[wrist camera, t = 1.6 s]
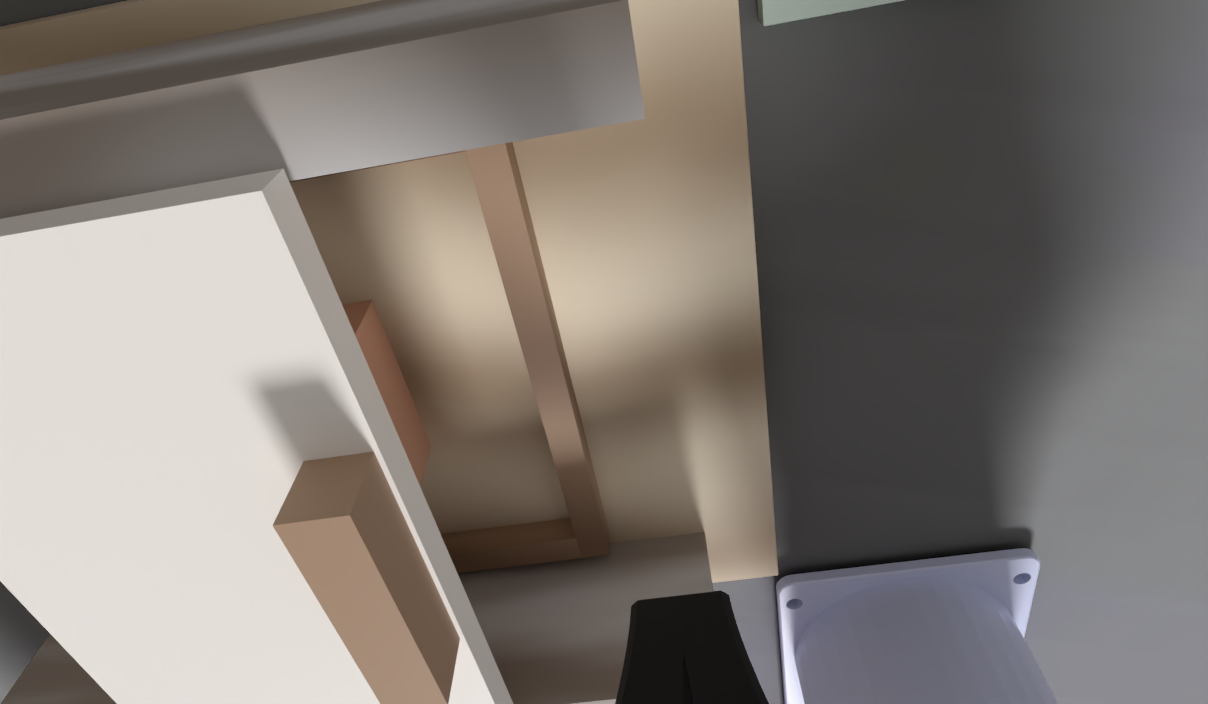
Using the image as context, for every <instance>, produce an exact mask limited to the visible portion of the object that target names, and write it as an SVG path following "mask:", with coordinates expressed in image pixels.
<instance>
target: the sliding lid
mask: <svg viewBox="0 0 1208 704" xmlns="http://www.w3.org/2000/svg"><path fill="white" fill-rule="evenodd" d="M0 581H1V582H2V584H3V585H4V586H5V587H6V588H7V589H8V590H9V591H10V592H11V593H12V594H13V595H14V596H15V597H16V598H17V599H18V600H19V601H20V602H21V603H22V605H23V606H24V607H25V608H26V609H27V610H28V611H29V612H30V613H31V614H32V615H33V616H34V617H35V618H36V619H37V620H38V621H39V622H40V623H41V625H42V626H43V627H44V628H45V629H46V630H47V631H48V632H49V633H50V634H51V635H52V636H53V637H54V638H55V639H56V640H57V641H58V642H59V643H60V645H61V646H62V647H63V648H64V649H65V650H66V651H67V652H68V653H69V654H70V655H71V656H72V657H73V658H74V659H75V660H76V661H77V662H78V663H79V665H80V666H81V667H82V668H83V669H84V670H85V671H86V672H87V673H88V674H89V675H90V676H91V677H92V678H93V679H94V680H95V681H96V682H97V683H98V685H99V686H100V687H101V688H102V689H103V690H104V691H105V692H106V693H107V694H108V695H109V696H110V697H111V698H112V699H113V700H114V701H115V702H116V703H117V704H513V701H512V699H511V697H510V695H509V692H508V690H507V688H506V685H505V683H504V681H503V678H502V676H501V674H500V671H499V669H498V667H497V664H496V662H495V660H494V657H493V655H492V653H491V650H490V648H489V646H488V643H487V641H486V639H485V636H484V634H483V632H482V629H481V627H480V625H479V622H478V620H477V618H476V615H475V613H474V611H473V608H472V606H471V604H470V601H469V599H468V597H467V594H466V592H465V590H464V587H463V585H462V583H461V580H460V578H459V576H458V573H457V571H456V569H455V566H454V564H453V562H452V560H451V557H450V555H449V553H448V550H447V548H446V546H445V543H444V541H443V539H442V536H441V534H440V532H439V529H438V527H437V525H436V522H435V520H434V518H433V515H432V513H431V511H430V508H429V506H428V504H427V501H426V499H425V497H424V494H423V492H422V490H421V487H420V485H419V483H418V480H417V478H416V476H415V473H414V471H413V469H412V466H411V464H410V462H409V459H408V457H407V455H406V452H405V450H404V448H403V445H402V443H401V441H400V438H399V436H398V434H397V432H396V429H395V427H394V425H393V422H392V420H391V418H390V415H389V413H388V411H387V408H386V406H385V404H384V401H383V399H382V397H381V394H380V392H379V390H378V387H377V385H376V383H375V380H374V378H373V376H372V373H371V371H370V369H369V366H368V364H367V362H366V359H365V357H364V355H363V352H362V350H361V348H360V345H359V343H358V341H357V338H356V336H355V334H354V331H353V329H352V327H351V324H350V322H349V320H348V317H347V315H346V313H345V310H344V308H343V306H342V303H341V301H340V299H339V297H338V294H337V292H336V290H335V287H334V285H333V283H332V280H331V278H330V276H329V273H328V271H327V269H326V266H325V264H324V262H323V259H322V257H321V255H320V252H319V250H318V248H317V245H316V243H315V241H314V238H313V236H312V234H311V231H310V229H309V227H308V224H307V222H306V220H305V217H304V215H303V213H302V210H301V208H300V206H299V203H298V201H297V199H296V196H295V194H294V192H293V189H292V187H291V185H290V182H289V180H288V178H287V175H286V173H285V171H284V168H283V169H278V170H272V171H266V172H261V173H255V174H249V175H244V176H238V177H233V178H227V179H221V180H216V181H210V182H205V183H199V184H193V185H188V186H182V187H176V188H171V189H165V190H160V191H154V192H148V193H143V194H137V195H132V196H126V197H120V198H115V199H109V200H103V201H98V202H92V203H87V204H81V205H75V206H70V207H64V208H59V209H53V210H47V211H42V212H36V213H30V214H25V215H19V216H14V217H8V218H2V219H0Z"/></svg>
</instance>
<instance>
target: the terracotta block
mask: <svg viewBox="0 0 1208 704" xmlns="http://www.w3.org/2000/svg"><path fill="white" fill-rule="evenodd" d="M342 306H343V308H344V310H345V313H346V315H347V317H348V320H349V322H350V324H351V327H352V329H353V331H354V334H355V336H356V338H357V341H358V343H359V345H360V348H361V350H362V352H363V355H364V357H365V359H366V362H367V364H368V366H369V369H370V371H371V373H372V376H373V378H374V380H375V383H376V385H377V387H378V390H379V392H380V394H381V397H382V399H383V401H384V404H385V406H386V408H387V411H388V413H389V415H390V418H391V420H392V422H393V425H394V427H395V429H396V432H397V434H398V436H399V438H400V441H401V443H402V445H403V448H404V450H405V452H406V455H407V457H408V459H409V462H410V464H411V466H412V469H413V471H414V473H415V476H416V478H417V480H418V483H419V485H420V484H421V481H422V477H423V474H424V470H425V467H426V463H427V460H428V456H429V453H430V449H431V444H430V442H429V439H428V437H427V434H426V432H425V430H424V427H423V425H422V422H421V420H420V417H419V415H418V412H417V410H416V407H415V405H414V402H413V400H412V397H411V395H410V392H409V390H408V387H407V385H406V382H405V380H404V377H403V375H402V372H401V370H400V367H399V365H398V362H397V360H396V357H395V355H394V352H393V350H392V347H391V345H390V342H389V340H388V337H387V335H386V332H385V330H384V327H383V325H382V322H381V320H380V318H379V315H378V313H377V310H376V308H375V305H374V303H373V300H370V301H363V302H357V303H351V304H344V305H342Z"/></svg>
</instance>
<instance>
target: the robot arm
mask: <svg viewBox="0 0 1208 704" xmlns="http://www.w3.org/2000/svg"><path fill="white" fill-rule="evenodd" d="M1039 569H1040V560H1039V559H1038V557H1037V555H1036V554H1035V552H1034V551H1033V550H1030V549H1027V548H1018V549H1009V550H1000V551H992V552H983V553H974V554H966V555H957V556H948V557H940V558H931V559H922V560H914V561H905V562H896V563H888V564H879V565H870V566H862V567H853V568H844V569H836V570H827V571H819V572H810V573H801V574H793V575H788V576H785V577H783V578H781V579H780V580H779V581H778V582H777V585H776V593H777V607H778V621H779V634H780V648H781V661H782V675H783V689H784V702H785V704H1058V702H1057V700H1056V698H1055V696H1054V695H1053V693H1052V691H1051V689H1050V687H1049V685H1048V683H1047V681H1046V679H1045V678H1044V676H1043V674H1042V672H1041V670H1040V668H1039V666H1038V664H1037V662H1036V661H1035V659H1034V657H1033V655H1032V653H1031V651H1030V649H1029V647H1028V646H1027V644H1026V642H1025V640H1024V637H1025V632H1026V627H1027V623H1028V618H1029V614H1030V609H1031V605H1032V600H1033V596H1034V591H1035V587H1036V582H1037V578H1038V573H1039ZM615 704H769V703H768V701H767V699H766V697H765V695H764V692H763V690H762V688H761V686H760V683H759V681H758V679H757V676H756V674H755V672H754V669H753V667H752V664H751V662H750V660H749V657H748V655H747V652H746V649H745V647H744V644H743V641H742V639H741V636H740V633H739V630H738V627H737V624H736V620H735V617H734V614H733V610H732V607H731V602H730V598H729V595H728V594H726V593H724V592H722V591H713V592H705V593H696V594H687V595H679V596H670V597H661V598H653V599H644V600H637V601H636V602H635V603H634V604H633V605H632V606H631V614H630V626H629V633H628V641H627V647H626V653H625V659H624V664H623V670H622V674H621V679H620V684H619V689H618V693H617V698H616V702H615Z"/></svg>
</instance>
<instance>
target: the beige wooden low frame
mask: <svg viewBox="0 0 1208 704" xmlns="http://www.w3.org/2000/svg"><path fill="white" fill-rule="evenodd" d="M283 168H284V171H285V173H286V175H287V178H288V180H289V182H290V185H291V187H292V189H293V192H294V194H295V196H296V199H297V201H298V203H299V206H300V208H301V210H302V213H303V215H304V217H305V220H306V222H307V224H308V227H309V229H310V231H311V234H312V236H313V238H314V241H315V243H316V245H317V248H318V250H319V252H320V255H321V257H322V259H323V262H324V264H325V266H326V269H327V271H328V273H329V276H330V278H331V280H332V283H333V285H334V287H335V290H336V292H337V294H338V297H339V299H340V301H341V303H342V305H344V304H351V303H357V302H363V301H370V300H373V303H374V305H375V308H376V310H377V313H378V315H379V318H380V320H381V322H382V325H383V327H384V330H385V332H386V335H387V337H388V340H389V342H390V345H391V347H392V350H393V352H394V355H395V357H396V360H397V362H398V365H399V367H400V370H401V372H402V375H403V377H404V380H405V382H406V385H407V387H408V390H409V392H410V395H411V397H412V400H413V402H414V405H415V407H416V410H417V412H418V415H419V417H420V420H421V422H422V425H423V427H424V430H425V432H426V434H427V437H428V439H429V442H430V444H431V449H430V453H429V456H428V460H427V463H426V467H425V470H424V474H423V477H422V481H421V484H420V487H421V490H422V492H423V494H424V497H425V499H426V501H427V504H428V506H429V508H430V511H431V513H432V515H433V518H434V520H435V522H436V525H437V527H438V529H439V532H440V534H441V536H442V539H443V541H444V543H445V546H446V548H447V550H448V553H449V555H450V557H451V560H452V562H453V564H454V566H455V569H456V571H457V573H458V576H459V578H460V580H461V583H462V585H463V587H464V590H465V592H466V594H467V597H468V599H469V601H470V604H471V606H472V608H473V611H474V613H475V615H476V618H477V620H478V622H479V625H480V627H481V629H482V632H483V634H484V636H485V639H486V641H487V643H488V646H489V648H490V650H491V653H492V655H493V657H494V660H495V662H496V664H497V667H498V669H499V671H500V674H501V676H502V678H503V681H504V683H505V685H506V688H507V690H508V692H509V695H510V697H511V699H512V701H513V704H615V702H616V698H617V693H618V689H619V684H620V679H621V674H622V670H623V664H624V659H625V653H626V647H627V641H628V633H629V626H630V614H631V606H632V605H633V604H634V603H635V602H636V601H637V600H644V599H653V598H661V597H670V596H679V595H687V594H696V593H705V592H713V585H712V583H716V582H724V581H733V580H742V579H750V578H759V577H768V576H776V575H778V562H777V548H776V533H775V519H774V505H773V490H772V476H771V462H770V448H769V433H768V419H767V405H766V390H765V376H764V362H763V347H762V333H761V319H760V305H759V290H758V276H757V262H756V247H755V233H754V219H753V204H752V190H751V176H750V162H749V147H748V133H747V119H746V104H745V90H744V76H743V61H742V47H741V33H740V19H739V4H738V0H127V1H122V2H117V3H112V4H108V5H103V6H98V7H93V8H88V9H83V10H78V11H73V12H69V13H64V14H59V15H54V16H49V17H44V18H39V19H34V20H30V21H25V22H20V23H15V24H10V25H5V26H0V219H2V218H8V217H14V216H19V215H25V214H30V213H36V212H42V211H47V210H53V209H59V208H64V207H70V206H75V205H81V204H87V203H92V202H98V201H103V200H109V199H115V198H120V197H126V196H132V195H137V194H143V193H148V192H154V191H160V190H165V189H171V188H176V187H182V186H188V185H193V184H199V183H205V182H210V181H216V180H221V179H227V178H233V177H238V176H244V175H249V174H255V173H261V172H266V171H272V170H278V169H283ZM1 704H117V703H116V702H115V701H114V700H113V699H112V698H111V697H110V696H109V695H108V694H107V693H106V692H105V691H104V690H103V689H102V688H101V687H100V686H99V685H98V683H97V682H96V681H95V680H94V679H93V678H92V677H91V676H90V675H89V674H88V673H87V672H86V671H85V670H84V669H83V668H82V667H81V666H80V665H79V663H78V662H77V661H76V660H75V659H74V658H73V657H72V656H71V655H70V654H69V653H68V652H67V651H66V650H65V649H64V648H63V647H62V646H61V645H60V643H59V642H58V641H57V640H56V639H55V638H54V637H53V636H52V635H51V634H49V636H48V637H47V638H46V640H45V641H44V643H43V644H42V646H41V647H40V648H39V650H38V651H37V653H36V654H35V656H34V657H33V658H32V660H31V661H30V663H29V664H28V666H27V667H26V668H25V670H24V671H23V673H22V674H21V676H20V677H19V678H18V680H17V681H16V683H15V684H14V686H13V687H12V688H11V690H10V691H9V693H8V694H7V696H6V697H5V698H4V700H3V701H2V703H1Z"/></svg>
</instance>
